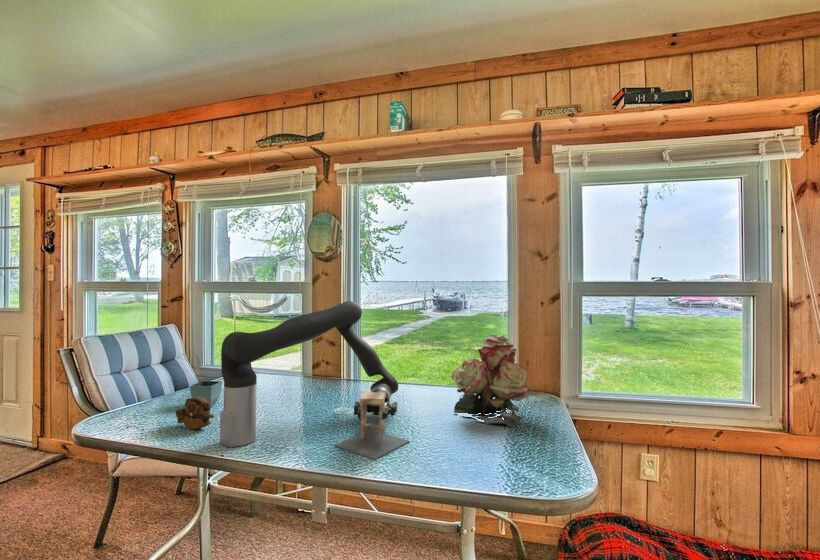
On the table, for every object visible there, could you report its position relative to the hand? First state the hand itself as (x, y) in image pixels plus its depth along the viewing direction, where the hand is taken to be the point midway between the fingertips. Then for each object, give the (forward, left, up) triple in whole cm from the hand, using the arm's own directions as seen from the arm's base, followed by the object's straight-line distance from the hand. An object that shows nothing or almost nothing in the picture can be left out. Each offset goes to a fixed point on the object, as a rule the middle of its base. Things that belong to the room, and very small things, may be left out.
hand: (371, 415), depth 115 cm
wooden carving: (-24, +58, -9) cm, 64 cm away
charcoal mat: (+2, +1, -9) cm, 9 cm away
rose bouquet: (+50, -16, -9) cm, 54 cm away
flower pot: (-9, +81, -9) cm, 82 cm away
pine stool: (+2, +1, -7) cm, 7 cm away
